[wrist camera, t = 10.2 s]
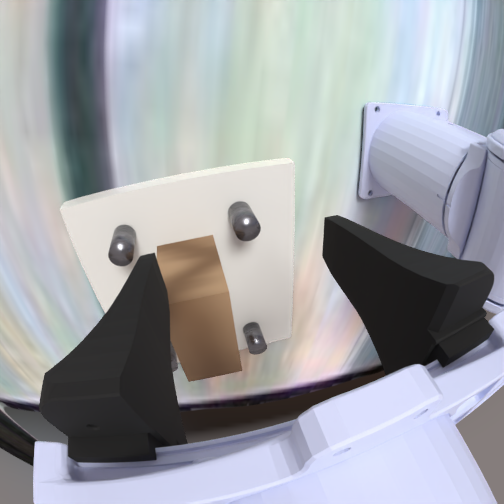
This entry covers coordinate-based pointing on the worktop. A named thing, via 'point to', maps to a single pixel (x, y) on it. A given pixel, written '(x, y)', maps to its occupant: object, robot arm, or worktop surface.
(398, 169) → the robot arm
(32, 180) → the worktop surface
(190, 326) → the walnut block
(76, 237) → the plate
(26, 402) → the worktop surface
